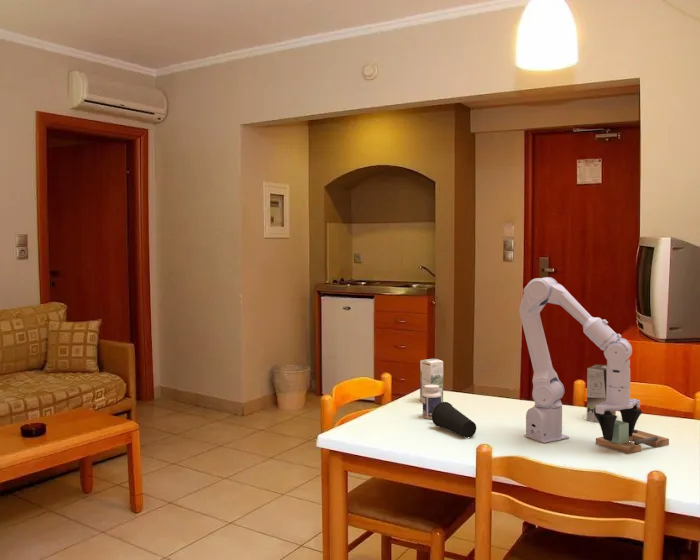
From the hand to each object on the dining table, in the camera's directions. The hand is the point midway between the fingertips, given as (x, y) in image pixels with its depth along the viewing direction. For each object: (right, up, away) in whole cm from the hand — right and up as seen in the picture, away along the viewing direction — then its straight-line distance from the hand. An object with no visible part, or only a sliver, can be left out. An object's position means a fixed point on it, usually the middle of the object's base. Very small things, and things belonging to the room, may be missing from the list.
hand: (617, 437), depth 168 cm
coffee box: (+7, -2, +29) cm, 30 cm away
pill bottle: (-44, -2, +33) cm, 55 cm away
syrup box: (-42, -1, +54) cm, 68 cm away
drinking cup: (-37, 0, +10) cm, 38 cm away
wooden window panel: (+5, -2, +3) cm, 6 cm away
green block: (0, -1, 0) cm, 1 cm away
